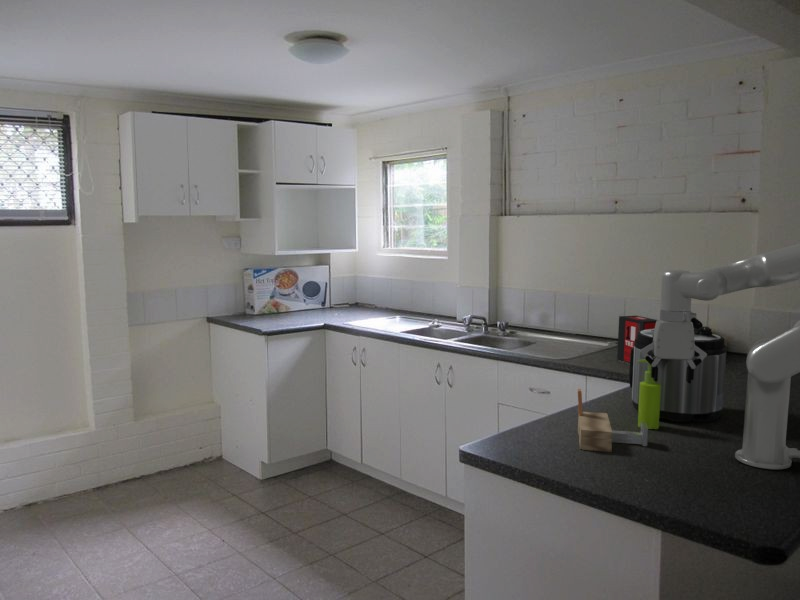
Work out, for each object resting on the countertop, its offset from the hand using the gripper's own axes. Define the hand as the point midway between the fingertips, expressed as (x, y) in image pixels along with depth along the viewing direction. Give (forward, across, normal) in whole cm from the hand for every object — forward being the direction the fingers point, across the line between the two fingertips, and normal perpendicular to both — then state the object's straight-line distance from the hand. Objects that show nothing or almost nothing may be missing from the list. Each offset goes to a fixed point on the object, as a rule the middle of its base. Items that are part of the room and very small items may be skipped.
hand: (671, 381), depth 179 cm
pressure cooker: (+18, -7, -35) cm, 40 cm away
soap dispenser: (+18, +4, -17) cm, 25 cm away
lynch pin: (+18, +14, 0) cm, 23 cm away
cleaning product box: (+18, -4, -109) cm, 111 cm away
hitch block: (+18, +20, 0) cm, 27 cm away
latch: (+9, +23, -6) cm, 25 cm away
